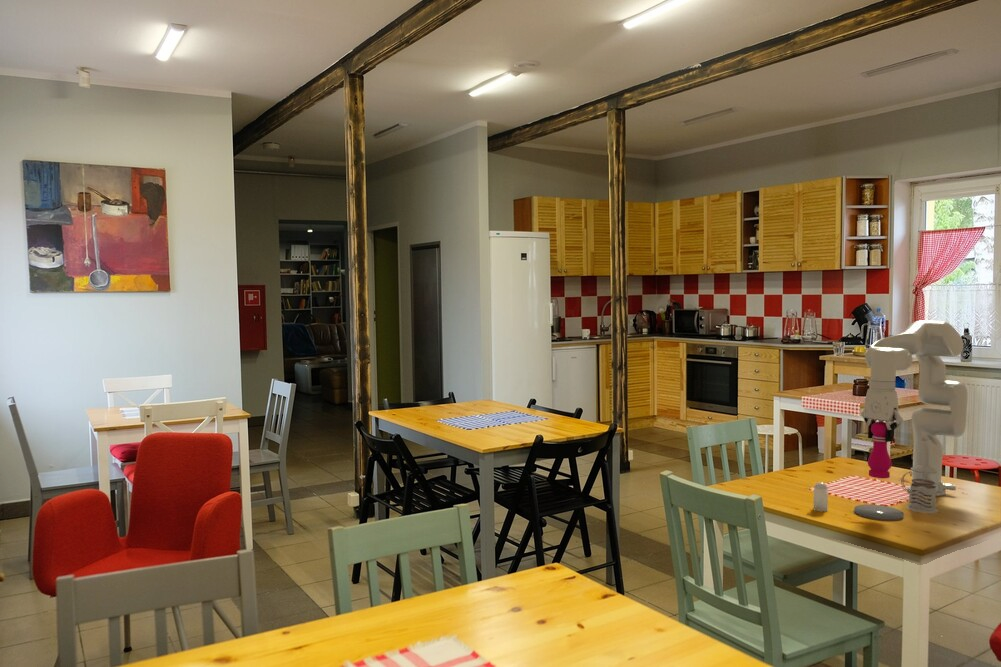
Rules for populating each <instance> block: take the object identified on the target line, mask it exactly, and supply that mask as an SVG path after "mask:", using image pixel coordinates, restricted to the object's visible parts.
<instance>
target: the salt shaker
mask: <svg viewBox="0 0 1001 667" xmlns="http://www.w3.org/2000/svg"><path fill="white" fill-rule="evenodd" d="M828 497H829V488H828V485H827V484H826V483H825V482H822V481H819V482H817V483H816V484H814V488H813V510H814V509H815V510H814V511H816V510H818V511H817V512H823V511H824V512H827V511H828V505H829V504H828V499H829V498H828Z"/></svg>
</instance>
